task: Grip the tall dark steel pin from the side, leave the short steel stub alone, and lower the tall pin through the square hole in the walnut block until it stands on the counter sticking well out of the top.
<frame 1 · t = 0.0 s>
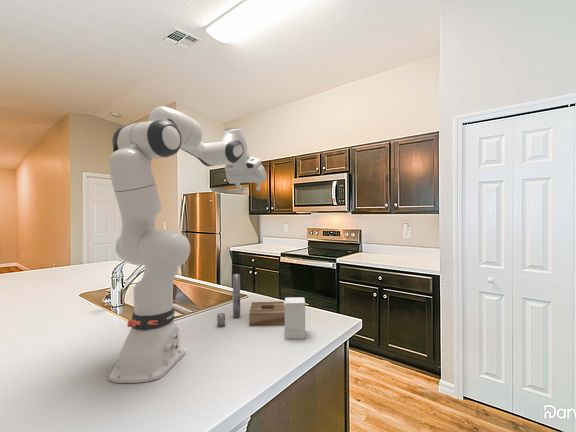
hand: (250, 190, 142), 54 cm above the worktop, tool tilted 30°, fingers open, 8 cm apart
collar block: (267, 319, 123), on the worktop
supplement box: (294, 335, 108), on the worktop
short pin: (221, 326, 116), on the worktop
long pin: (236, 317, 125), on the worktop
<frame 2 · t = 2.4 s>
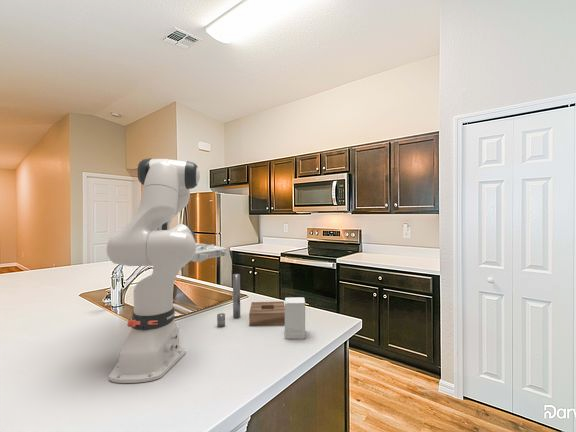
hand: (217, 255, 132), 25 cm above the worktop, tool horizontal, fingers open, 8 cm apart
nothing on the worktop moved.
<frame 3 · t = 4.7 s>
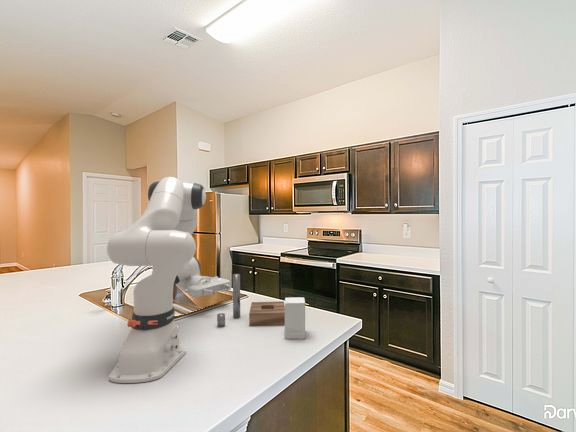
hand: (221, 290, 130), 10 cm above the worktop, tool horizontal, fingers open, 8 cm apart
nothing on the worktop moved.
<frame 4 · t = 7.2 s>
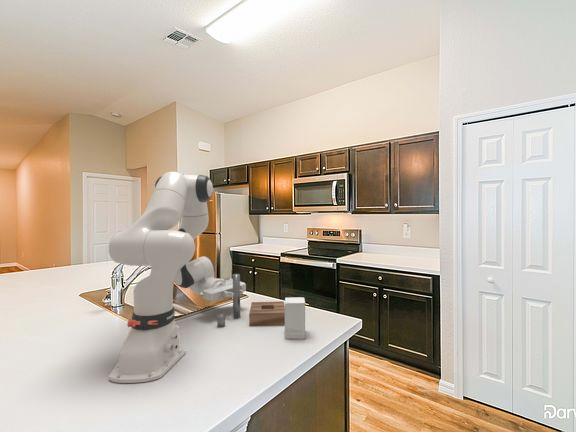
hand: (238, 293, 125), 10 cm above the worktop, tool horizontal, fingers closed on long pin, 3 cm apart
long pin: (236, 317, 125), on the worktop, touching gripper
everything else where it was.
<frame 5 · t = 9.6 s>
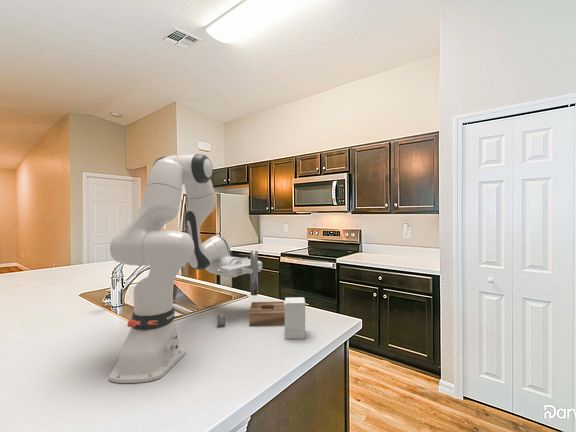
hand: (255, 270, 123), 20 cm above the worktop, tool horizontal, fingers closed on long pin, 3 cm apart
long pin: (254, 294, 124), point 10 cm above the worktop, touching gripper
everything else where it was.
when the fingers open (12 cm above the worktop, at t = 12.5 s): long pin drops 1 cm, resting in collar block.
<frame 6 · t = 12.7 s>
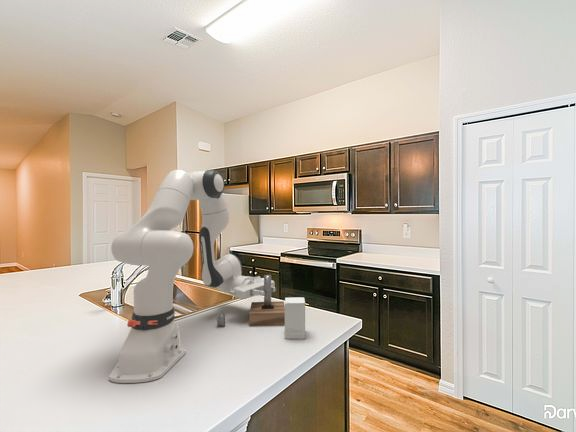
hand: (269, 291, 122), 12 cm above the worktop, tool horizontal, fingers open, 5 cm apart
long pin: (267, 319, 123), resting in collar block
everything else where it was.
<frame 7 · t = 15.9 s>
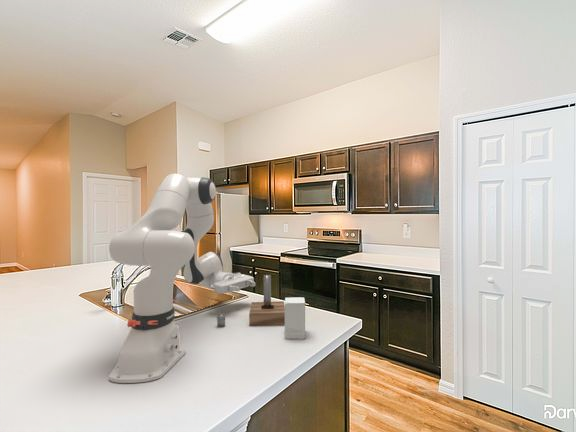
hand: (246, 286, 130), 12 cm above the worktop, tool horizontal, fingers open, 8 cm apart
nothing on the worktop moved.
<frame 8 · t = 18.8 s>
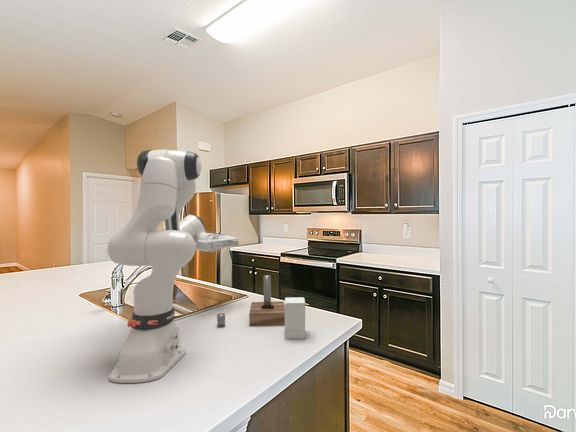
hand: (230, 244, 131), 30 cm above the worktop, tool horizontal, fingers open, 8 cm apart
nothing on the worktop moved.
at the end: long pin 0.0 cm off-centre on the collar block, point 0.0 cm above the collar block's base; long pin tilted 0°; short pin moved 0.0 cm from its start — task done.
